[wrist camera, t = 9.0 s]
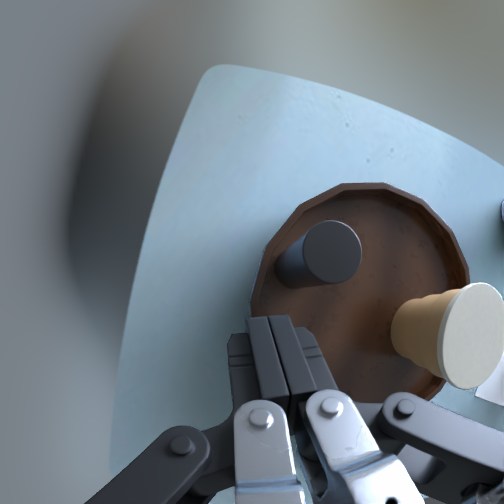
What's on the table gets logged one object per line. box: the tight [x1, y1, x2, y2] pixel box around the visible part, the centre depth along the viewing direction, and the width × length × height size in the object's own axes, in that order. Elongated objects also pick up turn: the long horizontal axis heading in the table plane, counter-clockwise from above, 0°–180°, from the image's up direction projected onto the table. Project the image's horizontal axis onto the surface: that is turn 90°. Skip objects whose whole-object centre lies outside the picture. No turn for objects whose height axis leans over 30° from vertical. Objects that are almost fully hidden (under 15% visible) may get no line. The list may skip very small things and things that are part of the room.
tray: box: [249, 182, 470, 403], centre depth 19 cm, size 20×20×10 cm
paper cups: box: [391, 283, 504, 390], centre depth 19 cm, size 7×7×8 cm
